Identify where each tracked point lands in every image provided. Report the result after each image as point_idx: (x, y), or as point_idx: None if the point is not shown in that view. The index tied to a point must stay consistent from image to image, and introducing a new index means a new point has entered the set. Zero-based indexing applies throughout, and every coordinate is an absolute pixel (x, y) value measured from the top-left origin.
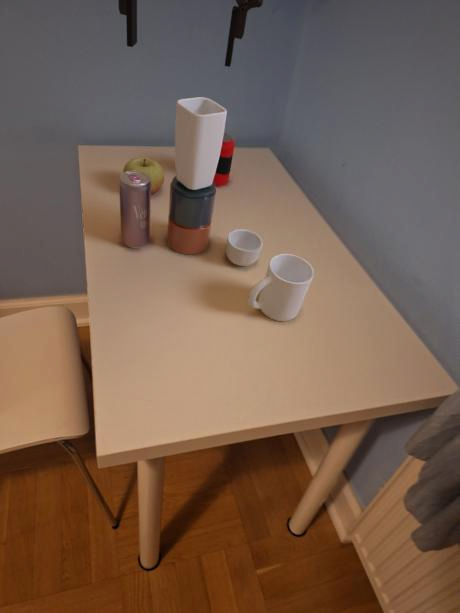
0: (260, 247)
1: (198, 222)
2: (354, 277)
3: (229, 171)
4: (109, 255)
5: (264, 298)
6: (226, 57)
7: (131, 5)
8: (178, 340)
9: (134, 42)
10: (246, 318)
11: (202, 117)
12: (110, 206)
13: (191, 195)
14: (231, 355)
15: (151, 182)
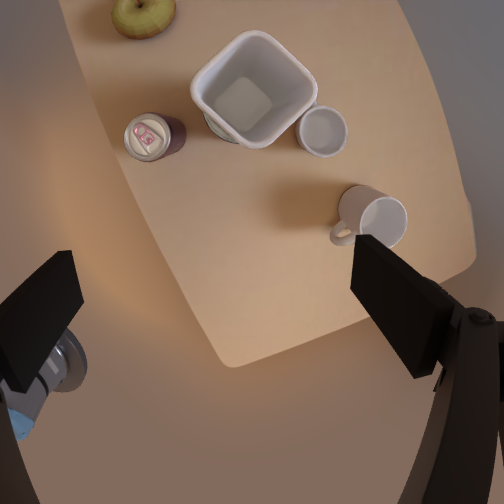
0: (345, 143)
1: None
2: (441, 138)
3: None
4: (147, 175)
5: (346, 225)
6: (359, 299)
7: (43, 362)
8: (258, 278)
9: (76, 283)
10: (324, 232)
11: (265, 146)
12: (115, 76)
13: None
14: (310, 281)
15: (159, 28)
